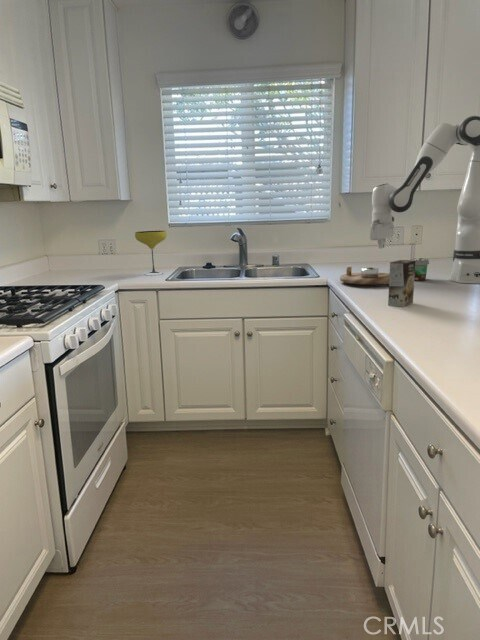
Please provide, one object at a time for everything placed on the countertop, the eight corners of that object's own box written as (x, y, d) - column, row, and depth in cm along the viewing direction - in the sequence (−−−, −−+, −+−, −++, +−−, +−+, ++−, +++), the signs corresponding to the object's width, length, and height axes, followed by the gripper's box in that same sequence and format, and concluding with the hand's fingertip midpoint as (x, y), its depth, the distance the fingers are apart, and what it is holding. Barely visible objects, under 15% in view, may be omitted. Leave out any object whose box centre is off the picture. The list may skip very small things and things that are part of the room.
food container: (423, 282, 220) (424, 261, 218) (410, 281, 224) (411, 260, 221) (431, 278, 230) (432, 258, 227) (418, 278, 233) (419, 257, 231)
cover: (381, 276, 223) (381, 267, 222) (374, 278, 217) (374, 269, 216) (365, 275, 228) (365, 266, 227) (357, 277, 222) (358, 268, 221)
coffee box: (404, 307, 171) (406, 263, 168) (387, 305, 175) (389, 262, 172) (413, 302, 178) (415, 260, 174) (397, 301, 182) (398, 259, 178)
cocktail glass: (163, 276, 270) (160, 232, 264) (133, 276, 273) (130, 233, 267) (173, 271, 287) (170, 230, 281) (144, 272, 290) (141, 231, 284)
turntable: (409, 277, 226) (410, 266, 224) (387, 286, 205) (388, 274, 203) (355, 273, 243) (355, 263, 242) (329, 281, 222) (329, 270, 220)
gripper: (379, 220, 216) (379, 250, 219) (395, 217, 231) (395, 246, 234) (366, 220, 220) (366, 250, 223) (383, 218, 235) (383, 246, 238)
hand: (381, 248), depth 228 cm, fingers closed
